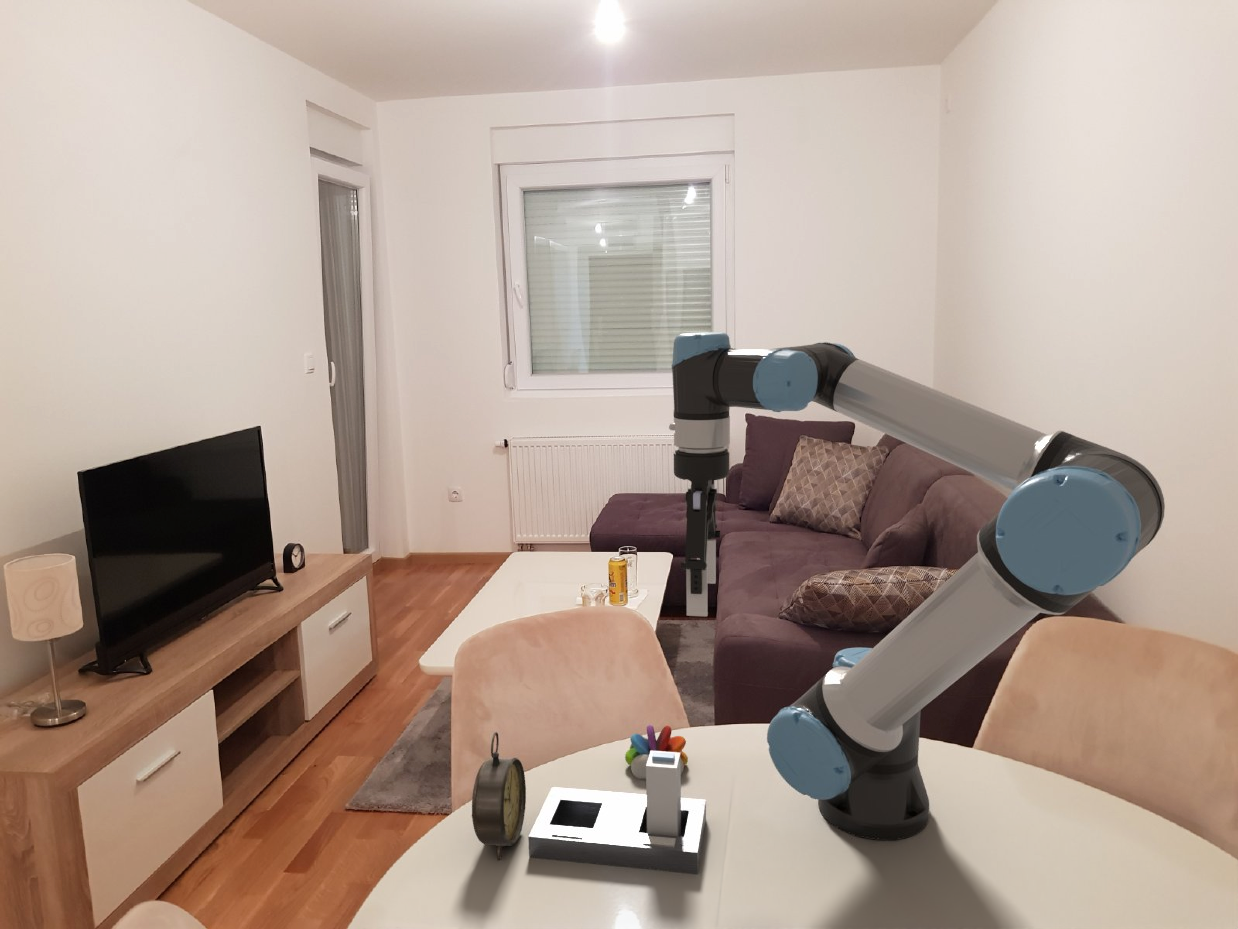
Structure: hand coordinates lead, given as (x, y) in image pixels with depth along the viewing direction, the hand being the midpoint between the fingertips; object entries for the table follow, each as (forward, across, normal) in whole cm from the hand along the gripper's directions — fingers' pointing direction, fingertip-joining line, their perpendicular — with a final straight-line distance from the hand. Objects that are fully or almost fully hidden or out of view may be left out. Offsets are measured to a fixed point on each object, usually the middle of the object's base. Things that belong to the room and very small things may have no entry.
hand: (702, 598), depth 123 cm
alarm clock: (+31, +15, -26) cm, 43 cm away
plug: (+30, +12, -4) cm, 33 cm away
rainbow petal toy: (+31, -7, -8) cm, 33 cm away
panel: (+31, +12, -10) cm, 34 cm away
